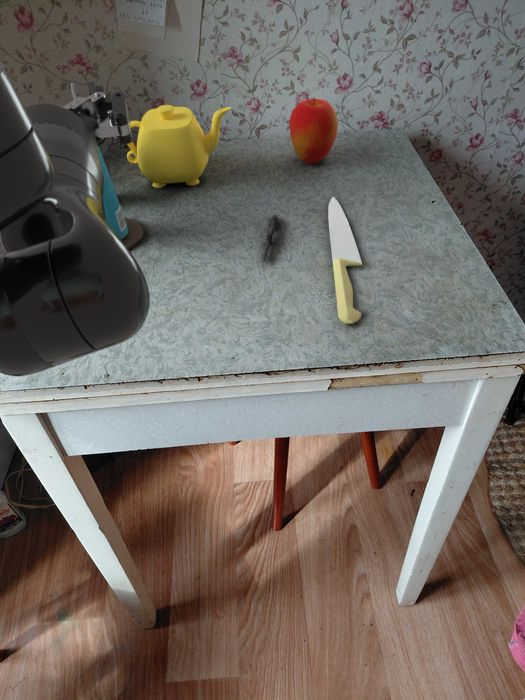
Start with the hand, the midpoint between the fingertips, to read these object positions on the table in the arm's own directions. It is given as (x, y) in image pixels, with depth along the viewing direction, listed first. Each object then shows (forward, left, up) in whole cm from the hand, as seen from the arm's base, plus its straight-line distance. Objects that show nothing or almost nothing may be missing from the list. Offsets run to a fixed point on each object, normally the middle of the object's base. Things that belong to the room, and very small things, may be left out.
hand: (49, 97), depth 53 cm
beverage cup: (0, +32, -30) cm, 44 cm away
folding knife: (+25, +10, -30) cm, 40 cm away
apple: (+41, +34, -30) cm, 61 cm away
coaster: (+1, +20, -30) cm, 36 cm away
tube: (+1, +20, -29) cm, 35 cm away
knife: (+35, +3, -30) cm, 46 cm away
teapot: (+16, +37, -30) cm, 50 cm away
